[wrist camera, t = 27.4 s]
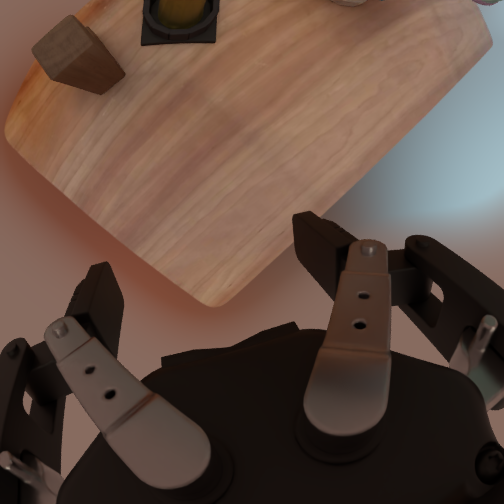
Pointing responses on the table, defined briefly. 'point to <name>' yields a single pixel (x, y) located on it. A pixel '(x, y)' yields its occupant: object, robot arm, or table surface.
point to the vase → (180, 13)
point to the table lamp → (357, 0)
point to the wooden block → (77, 57)
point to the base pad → (161, 34)
